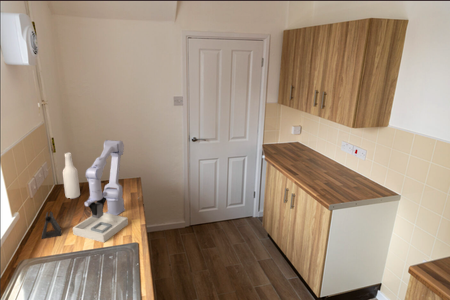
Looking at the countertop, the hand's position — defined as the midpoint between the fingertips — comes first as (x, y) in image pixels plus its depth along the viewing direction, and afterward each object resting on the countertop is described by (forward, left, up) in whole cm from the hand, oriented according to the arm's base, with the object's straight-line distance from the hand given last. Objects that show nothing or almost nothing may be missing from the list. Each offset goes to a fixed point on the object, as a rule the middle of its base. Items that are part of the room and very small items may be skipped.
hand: (97, 212), depth 165 cm
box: (0, +2, -9) cm, 10 cm away
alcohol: (-26, -44, -10) cm, 52 cm away
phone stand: (+14, -18, -10) cm, 25 cm away
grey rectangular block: (0, 0, -2) cm, 2 cm away
